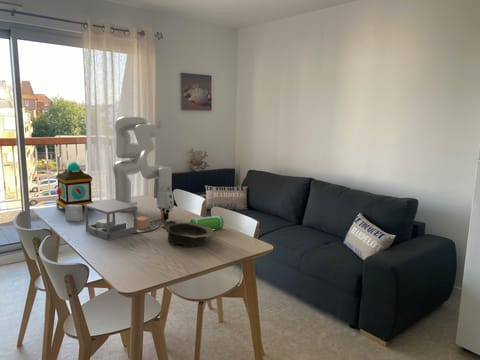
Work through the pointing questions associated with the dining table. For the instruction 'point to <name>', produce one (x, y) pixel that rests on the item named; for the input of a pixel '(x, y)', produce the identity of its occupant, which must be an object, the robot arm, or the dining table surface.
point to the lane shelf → (107, 209)
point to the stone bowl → (186, 233)
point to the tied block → (147, 221)
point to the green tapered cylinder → (209, 221)
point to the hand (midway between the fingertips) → (164, 219)
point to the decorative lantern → (73, 187)
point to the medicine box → (73, 213)
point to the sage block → (103, 223)
